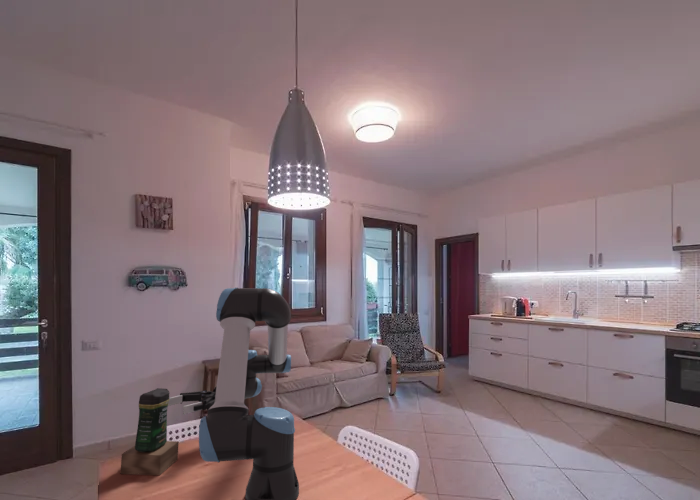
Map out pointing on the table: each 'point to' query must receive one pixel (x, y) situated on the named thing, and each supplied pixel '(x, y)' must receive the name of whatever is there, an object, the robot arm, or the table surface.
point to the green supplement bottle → (152, 420)
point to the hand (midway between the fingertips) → (173, 406)
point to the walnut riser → (149, 460)
